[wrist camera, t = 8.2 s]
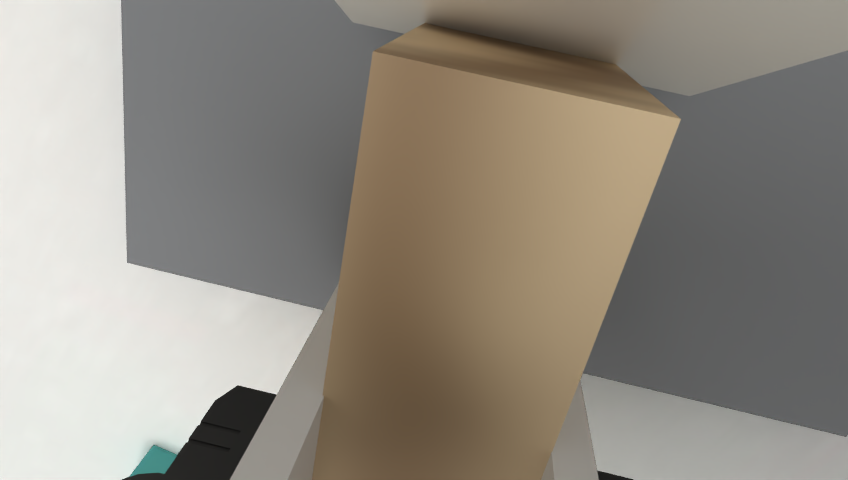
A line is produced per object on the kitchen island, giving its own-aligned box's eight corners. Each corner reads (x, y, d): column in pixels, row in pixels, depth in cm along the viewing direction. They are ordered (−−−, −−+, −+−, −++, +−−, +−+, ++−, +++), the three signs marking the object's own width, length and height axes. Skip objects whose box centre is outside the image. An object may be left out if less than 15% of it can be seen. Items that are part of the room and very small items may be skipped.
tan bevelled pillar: (615, 64, 12) (681, 119, 7) (465, 527, 18) (450, 714, 13) (424, 22, 12) (372, 51, 8) (339, 495, 18) (282, 669, 14)
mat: (1349, -370, 10) (1396, -390, 9) (835, 422, 18) (846, 437, 17) (127, -597, 11) (107, -626, 10) (138, 254, 18) (127, 262, 18)
